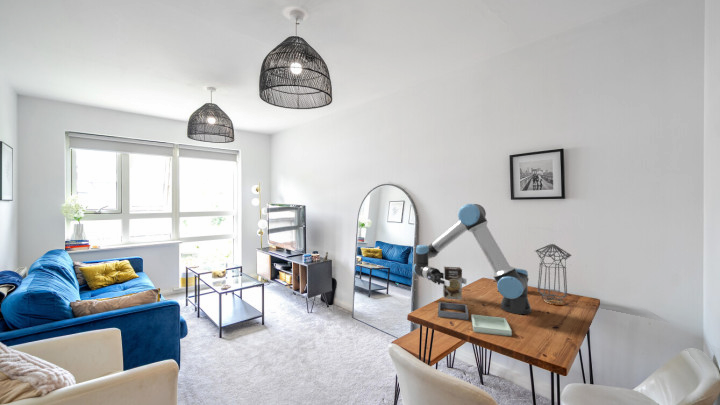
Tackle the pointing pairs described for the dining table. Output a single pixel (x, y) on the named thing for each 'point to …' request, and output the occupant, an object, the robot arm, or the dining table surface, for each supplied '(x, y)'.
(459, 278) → the coffee box
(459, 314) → the frame
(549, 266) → the geometric lantern
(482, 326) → the tray
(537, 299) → the dining table surface
